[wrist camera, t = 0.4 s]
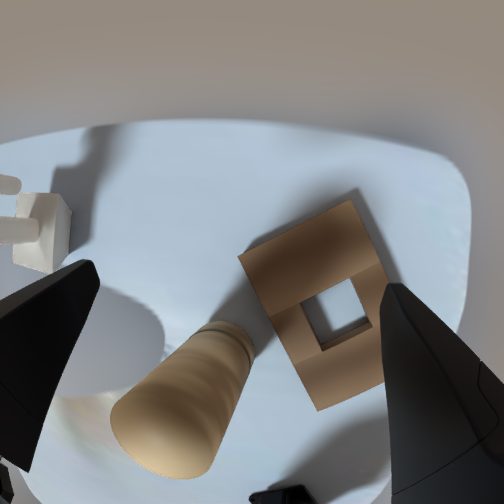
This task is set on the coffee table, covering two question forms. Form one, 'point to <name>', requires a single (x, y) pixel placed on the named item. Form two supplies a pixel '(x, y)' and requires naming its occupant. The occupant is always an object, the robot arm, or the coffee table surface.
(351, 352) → the walnut board
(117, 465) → the coffee table surface
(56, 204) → the figurine
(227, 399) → the oak peg
